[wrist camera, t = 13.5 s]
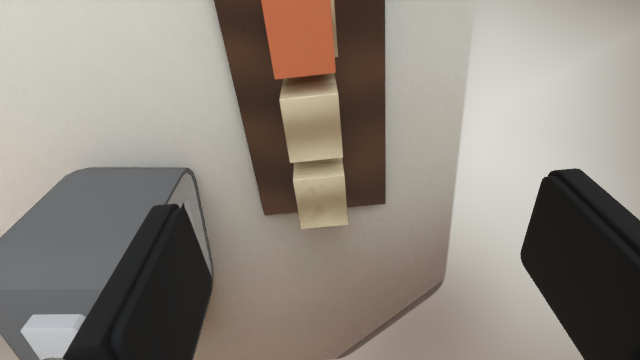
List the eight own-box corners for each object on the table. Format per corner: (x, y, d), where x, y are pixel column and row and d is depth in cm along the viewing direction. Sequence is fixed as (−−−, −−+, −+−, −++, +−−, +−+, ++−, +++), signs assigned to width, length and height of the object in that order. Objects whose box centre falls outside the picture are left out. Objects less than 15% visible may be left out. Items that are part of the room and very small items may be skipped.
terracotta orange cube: (268, -15, 25) (259, -6, 21) (325, -22, 25) (329, -14, 21) (279, 59, 28) (274, 79, 24) (331, 53, 28) (335, 73, 23)
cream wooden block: (283, 76, 29) (279, 99, 24) (334, 71, 28) (338, 93, 24) (292, 134, 31) (289, 163, 27) (338, 129, 31) (343, 158, 27)
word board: (207, -44, 25) (203, -44, 24) (382, -65, 25) (384, -66, 24) (265, 209, 37) (264, 216, 36) (383, 197, 37) (385, 204, 36)
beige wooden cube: (294, 149, 32) (292, 180, 28) (339, 144, 32) (344, 175, 28) (301, 195, 35) (301, 229, 31) (343, 191, 35) (348, 225, 31)
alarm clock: (215, 279, 42) (173, 429, 29) (116, 279, 42) (29, 431, 29) (191, 156, 33) (115, 292, 20) (65, 155, 33) (-95, 294, 20)
